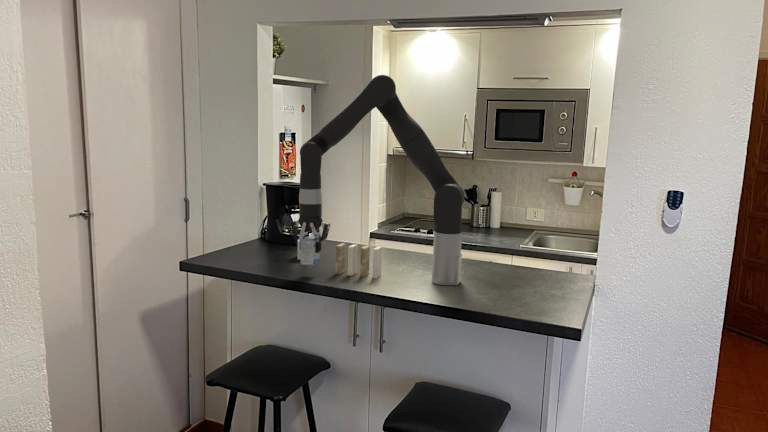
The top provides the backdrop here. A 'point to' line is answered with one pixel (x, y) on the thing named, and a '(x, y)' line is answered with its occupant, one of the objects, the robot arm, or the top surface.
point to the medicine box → (309, 251)
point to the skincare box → (299, 251)
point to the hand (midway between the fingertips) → (310, 251)
